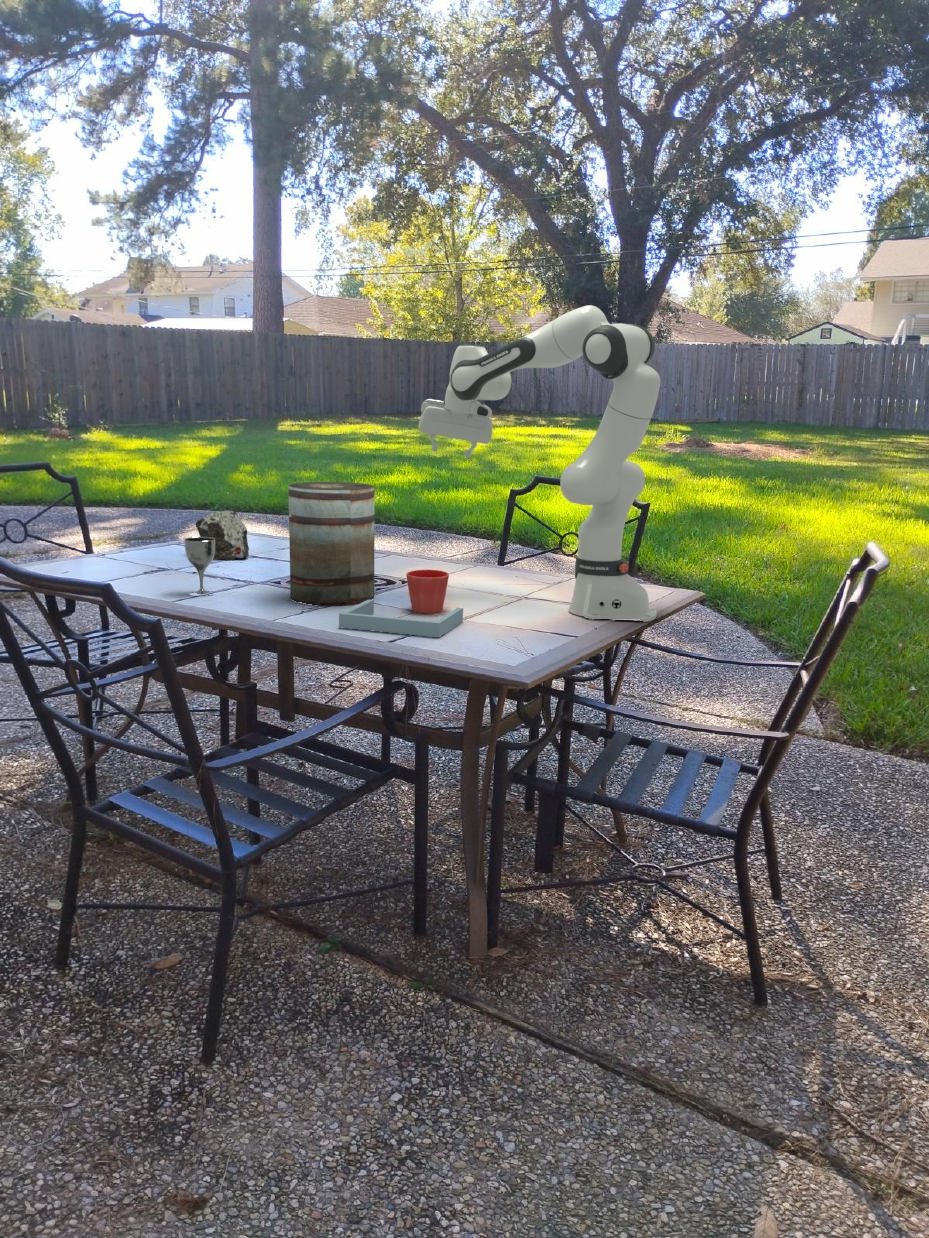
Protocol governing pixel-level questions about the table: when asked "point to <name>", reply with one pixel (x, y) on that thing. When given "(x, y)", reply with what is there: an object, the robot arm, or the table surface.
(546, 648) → the table surface
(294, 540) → the barrel
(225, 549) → the stone
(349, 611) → the tray frame
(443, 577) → the flower pot
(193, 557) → the silver goblet
